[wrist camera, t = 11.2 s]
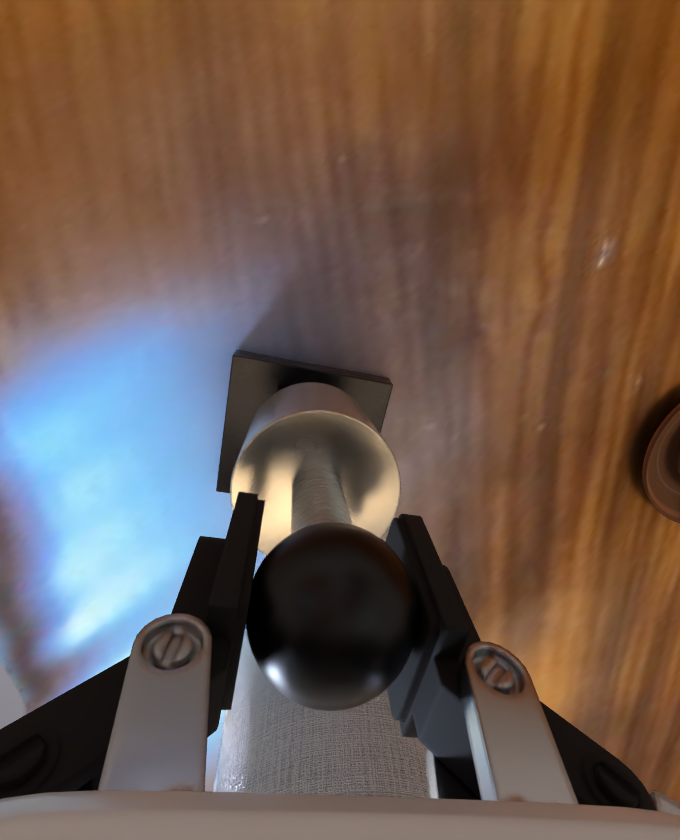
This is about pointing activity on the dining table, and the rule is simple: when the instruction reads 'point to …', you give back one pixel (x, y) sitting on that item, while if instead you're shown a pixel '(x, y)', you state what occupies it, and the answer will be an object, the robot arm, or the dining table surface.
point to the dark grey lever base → (269, 374)
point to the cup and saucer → (664, 467)
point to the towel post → (325, 550)
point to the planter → (313, 745)
